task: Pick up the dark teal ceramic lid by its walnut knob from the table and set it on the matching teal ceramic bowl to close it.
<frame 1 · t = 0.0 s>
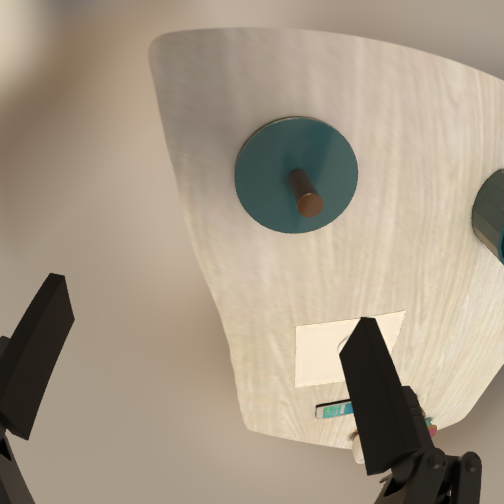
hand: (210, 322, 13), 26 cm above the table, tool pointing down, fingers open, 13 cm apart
lid: (297, 177, 36), point 1 cm above the table
cupcake: (421, 421, 84), on the table
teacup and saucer: (346, 353, 57), on the table
smartphone: (345, 405, 69), on the table
bowl: (500, 206, 39), on the table
cup 2: (367, 430, 82), on the table
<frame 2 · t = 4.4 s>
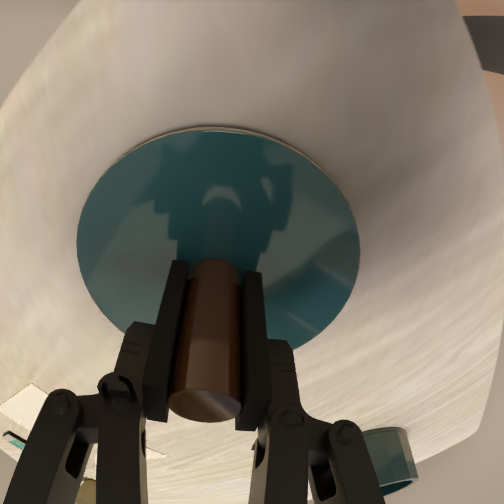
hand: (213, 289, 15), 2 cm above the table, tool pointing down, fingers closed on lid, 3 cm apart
lid: (215, 272, 16), point 1 cm above the table, touching gripper
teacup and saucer: (70, 434, 32), on the table
smartphone: (38, 450, 41), on the table
flower pot: (97, 482, 51), on the table
bowl: (357, 449, 35), on the table
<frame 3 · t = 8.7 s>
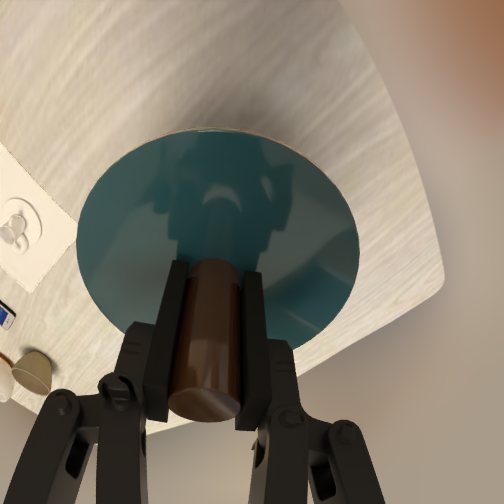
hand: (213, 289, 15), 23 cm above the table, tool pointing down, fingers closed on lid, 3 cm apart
lid: (214, 272, 16), point 21 cm above the table, touching gripper
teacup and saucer: (9, 223, 37), on the table
flower pot: (40, 357, 56), on the table
cup 2: (1, 360, 58), on the table
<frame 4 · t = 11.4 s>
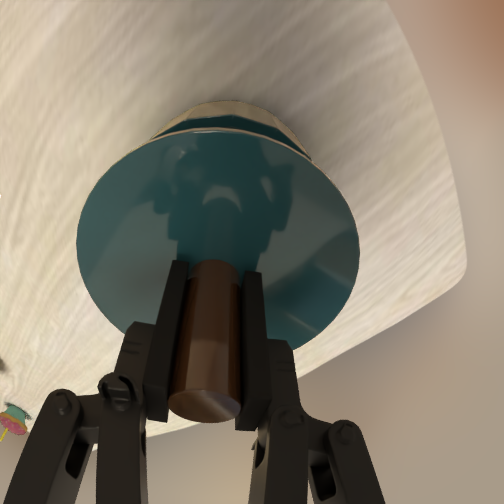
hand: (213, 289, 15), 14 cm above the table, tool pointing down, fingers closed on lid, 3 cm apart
lid: (214, 272, 16), point 13 cm above the table, touching gripper
cupcake: (18, 409, 57), on the table
bowl: (225, 178, 27), on the table
when the fingers open (9 cm above the table, at t = 12.9 s): lid stays where it is, resting on bowl.
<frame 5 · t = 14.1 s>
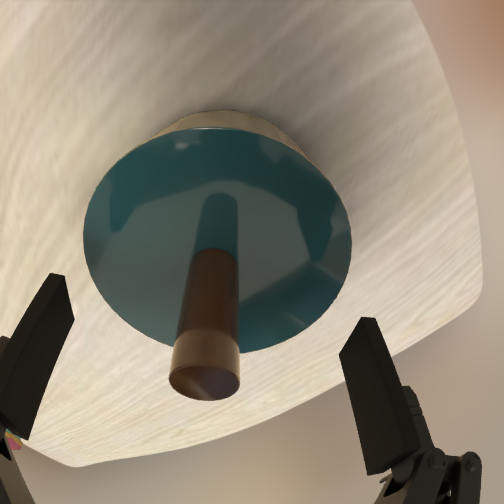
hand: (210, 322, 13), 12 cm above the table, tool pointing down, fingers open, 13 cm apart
lid: (214, 261, 17), point 7 cm above the table, touching bowl
cupcake: (12, 423, 53), on the table
bowl: (221, 201, 23), on the table
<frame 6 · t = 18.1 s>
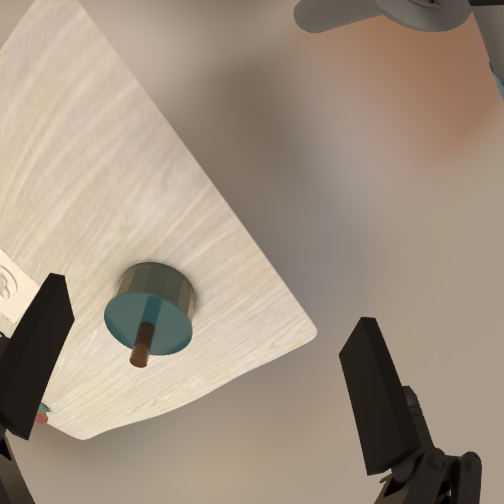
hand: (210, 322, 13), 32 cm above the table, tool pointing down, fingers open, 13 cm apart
lid: (147, 324, 48), point 7 cm above the table, touching bowl
cupcake: (41, 404, 84), on the table
bowl: (156, 293, 54), on the table
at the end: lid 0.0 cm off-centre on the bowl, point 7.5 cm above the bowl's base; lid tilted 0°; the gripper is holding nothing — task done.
